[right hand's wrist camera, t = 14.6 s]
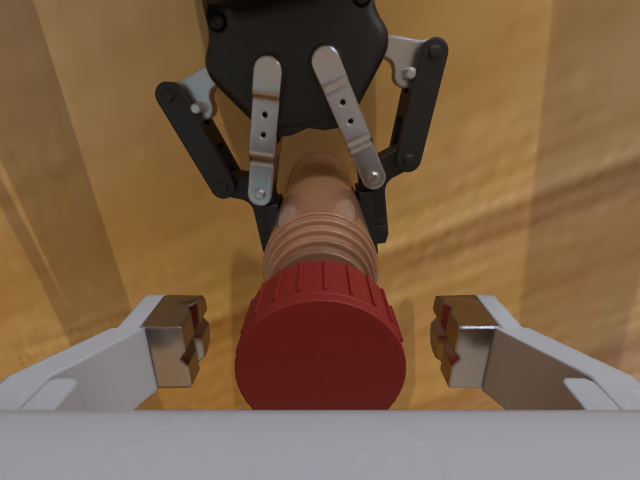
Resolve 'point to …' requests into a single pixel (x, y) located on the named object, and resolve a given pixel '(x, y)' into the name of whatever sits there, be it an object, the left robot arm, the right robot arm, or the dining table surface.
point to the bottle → (320, 220)
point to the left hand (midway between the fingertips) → (327, 253)
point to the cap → (320, 342)
